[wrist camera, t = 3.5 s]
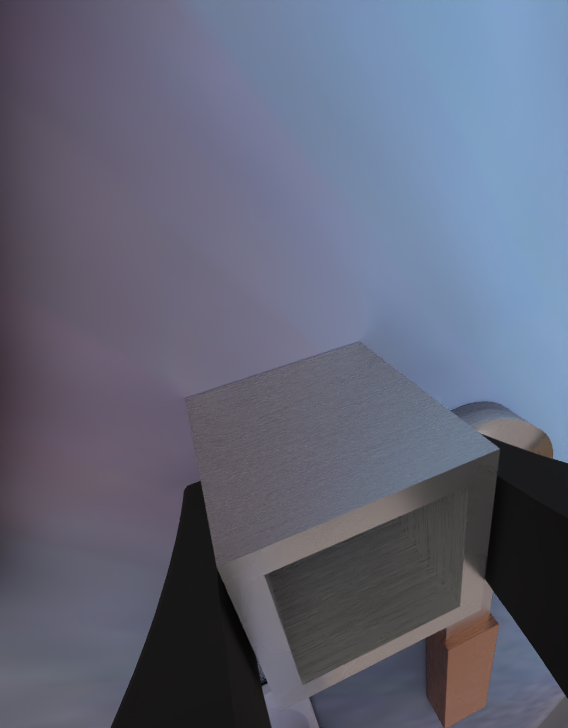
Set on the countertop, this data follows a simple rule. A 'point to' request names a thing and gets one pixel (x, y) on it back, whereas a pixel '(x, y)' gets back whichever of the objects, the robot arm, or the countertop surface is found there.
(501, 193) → the countertop surface
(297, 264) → the countertop surface
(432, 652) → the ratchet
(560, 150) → the countertop surface
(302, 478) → the hollow square box
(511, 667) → the countertop surface
